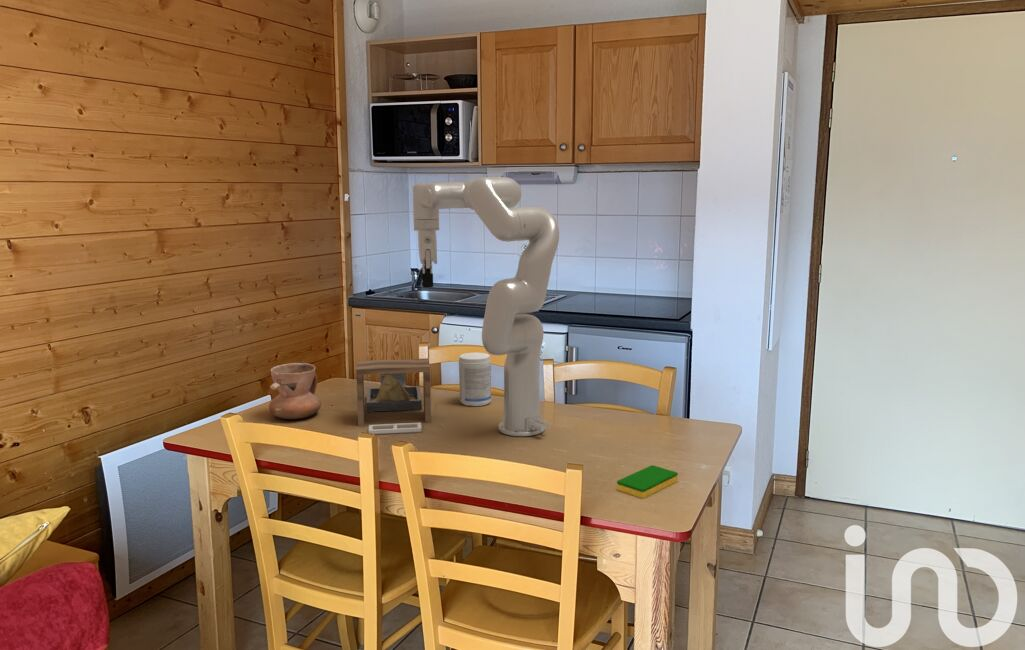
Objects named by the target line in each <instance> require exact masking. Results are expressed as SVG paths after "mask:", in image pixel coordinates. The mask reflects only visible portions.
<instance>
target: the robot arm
mask: <svg viewBox="0 0 1025 650" xmlns="http://www.w3.org/2000/svg"><path fill="white" fill-rule="evenodd" d="M521 199H522V189H521V186H520V184H519V183H518V182H517V181H515V179H513V178H511V177H506V176H502V177H501V176H500V177H498V176H495V177H494V176H493V177H491V176H489V177H488V176H487V177H486V176H485V177H482V176H481V177H479V178H471V179H469V180H468V181H464V182H463V181H459V182H457V181H455V182H454V181H445V182H443V181H442V182H441V181H440V182H417V183H415V184H413V186H412V208H413V209H412V211H413V212H412V213H413V214H412V215H413V231H416V232H417V244H418V246H417V247H418V256H419V261H420V264H421V265H422V267H421V268H422V273H421V286H422V288H434V274H433V264H435V265H437V264H438V248H437V247H438V244H437V243H438V242H437V241H438V240H437V231H440V210H447V209H448V210H449V209H468V208H469V209H471V210H473V211H474V212H475V213H476V215H477V216H478V218H479V219H480V220H481V221H482V222H483V225H485V227H486V228H487V230H488V231H489V232H490V234H491V235H492V236H493V237H495V239H497V240H499V241H501V242H508V243H509V242H520V241H521V242H522V241H528V244H527V245H526V247H525V248H524V250H523V251H522V253H521V255H520V257H519V260H518V263H517V264H518V267H517V270H516V274H515V276H514V277H511V278H505V279H501V280H498V281H497V282H495V283H494V284H493V286H492V287H491V288H490V290H489V293H488V294H487V300H486V305H485V311H484V317H483V322H482V327H481V341H482V342H481V343H482V345H483V347H484V348H483V349H485V351H486V352H487V354H489V355H493V356H505V355H506V357H505V360H504V365H503V420H502V421H501V422H499V423H498V427H497V428H498V431H499V432H501V433H502V434H504V435H508V436H510V437H511V436H512V437H513V436H514V437H530V436H531V437H533V436H536V435H539V434H541V433H543V432H544V431H545V430H546V428H547V427H548V426H549V422H547V421H543V419H542V418H543V416H542V414H540V364H541V363H540V361H541V360H540V359H541V352H542V345H543V340H544V326H543V324H542V321H540V319H539V318H538V317H536V316H535V315H533V314H530V313H534V312H538V311H539V310H541V308H543V306H544V304H545V300H546V296H547V292H548V286H549V282H550V276H551V272H552V267H553V261H554V259H555V255H556V253H557V249H558V246H559V241H560V228H559V224H558V221H557V219H556V217H555V215H553V213H552V212H550V211H549V210H548V209H546V208H544V207H540V206H516V205H518V204H519V202H520V201H521ZM515 206H516V207H515Z"/></svg>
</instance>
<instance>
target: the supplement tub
mask: <svg viewBox="0 0 1025 650" xmlns="http://www.w3.org/2000/svg"><path fill="white" fill-rule="evenodd" d="M490 356H491V354H490V353H486V352H467V353H462V354H460V355H459V357H458V359H459V360H458V374H459V376H458V377H459V378H458V379H459V381H458V383H459V402H460V404H462V405H463V406H468V407H481V406H486V405H488V404H490V403H491V402H492V375H491V374H492V370H491V369H492V366H491V365H492V364H491V357H490Z"/></svg>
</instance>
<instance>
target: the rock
mask: <svg viewBox="0 0 1025 650" xmlns="http://www.w3.org/2000/svg"><path fill="white" fill-rule="evenodd" d="M379 388H380V390H379V393H378V395H377V397H375V398H376V399H375V401H396V400H413V399H412V398H411V396H409V393H408V392H407V391H406V390H405V389H404V387H403V386H402V385H401V384H400V383H399V382H398V381H397V380H396V379H394V377H393V376H391V375H386V376H385V378H384V380H383V382H382V384H381V383H380V387H379Z"/></svg>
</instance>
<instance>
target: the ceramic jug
mask: <svg viewBox="0 0 1025 650" xmlns="http://www.w3.org/2000/svg"><path fill="white" fill-rule="evenodd" d="M270 375H271V376H270V377H271V378H272V382H273V383H272V384H271V385H270V386H269V387H270V389H271V390H277V391H278V394H277V395H276V396H275V397H273V398H272V399H271V401H269V404H268V409H269V412H270V413H271V414H272V416H274V417H276V418H278V419H283V420H298V419H299V420H300V419H305V418H308V417H310V416H312V415H315V414H316V413H317V412H319V410H320V409H321V406H322V401H321V399H320V397H318V396H317V395H316V394H315V393H316V390H317V386H318V376H317V374H316V366H315V365H314V364H311V363H308V362H293V363H285V364H280V365H279V364H278V365H276V366H273V367H271V368H270Z"/></svg>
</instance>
